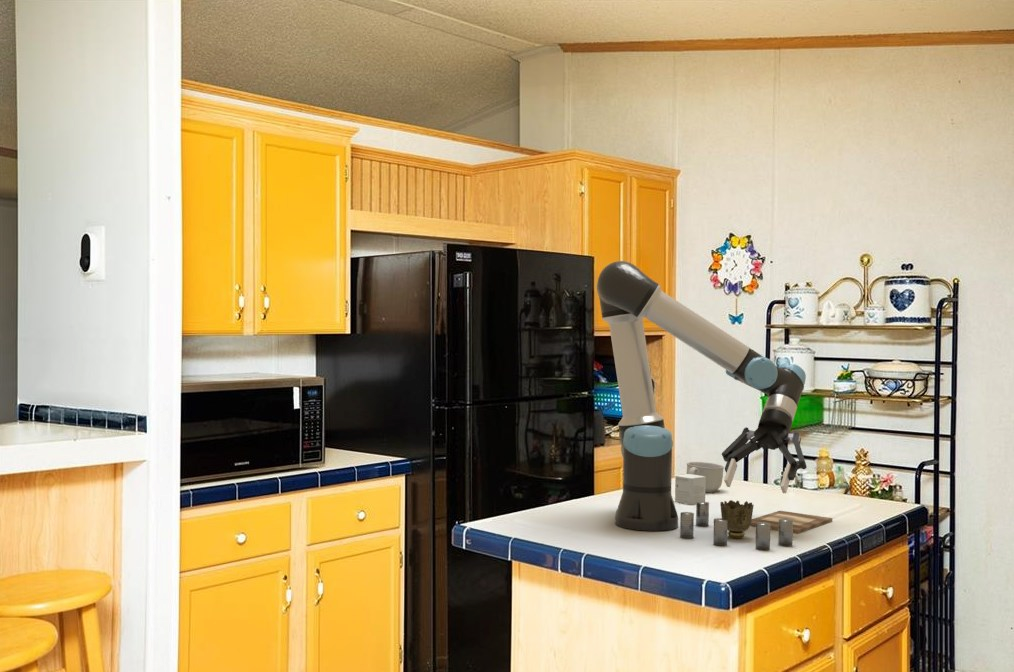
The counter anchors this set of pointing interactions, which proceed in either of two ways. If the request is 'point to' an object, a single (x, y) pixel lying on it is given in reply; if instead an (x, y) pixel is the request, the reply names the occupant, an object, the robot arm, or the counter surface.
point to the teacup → (707, 473)
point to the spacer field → (722, 525)
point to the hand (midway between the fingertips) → (754, 486)
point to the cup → (737, 517)
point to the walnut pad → (799, 520)
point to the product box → (690, 488)
